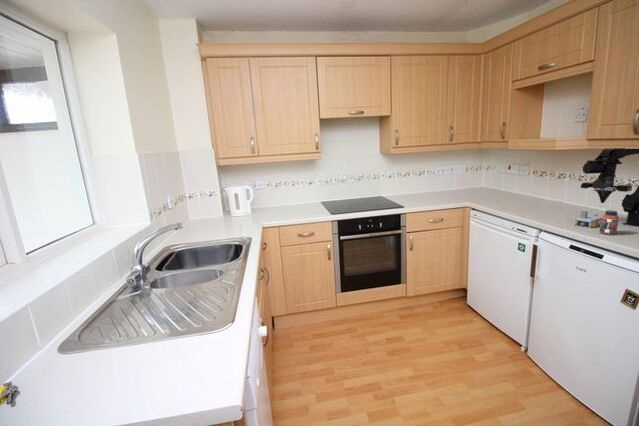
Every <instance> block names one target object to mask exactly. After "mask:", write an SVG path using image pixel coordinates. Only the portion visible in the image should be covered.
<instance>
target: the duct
mask: <svg viewBox="0 0 639 426" xmlns="http://www.w3.org/2000/svg"><path fill="white" fill-rule="evenodd" d="M601 220H602V219H600V220H597V221H594V222H589V225H587V226H588V229H592V228H595V227H599V226H600V225H601ZM580 222H582V221H579V220H576V219H575V221H574V226H577V227H578V226H579V225H580ZM580 226H581V225H580Z"/></svg>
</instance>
